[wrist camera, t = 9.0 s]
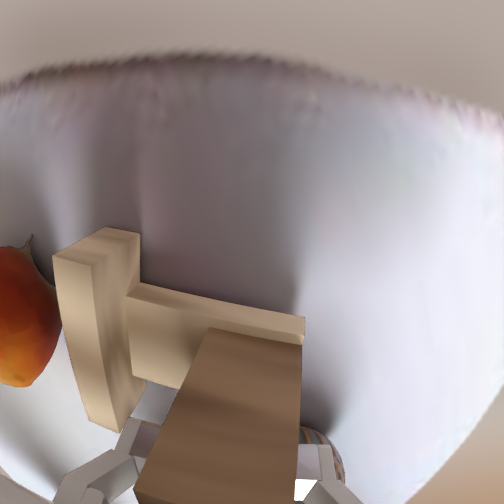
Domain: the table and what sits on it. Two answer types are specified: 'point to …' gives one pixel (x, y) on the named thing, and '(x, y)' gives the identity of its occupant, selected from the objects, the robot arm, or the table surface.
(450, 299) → the table surface
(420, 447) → the table surface
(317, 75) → the table surface
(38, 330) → the fruit
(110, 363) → the angled wooden block structure
